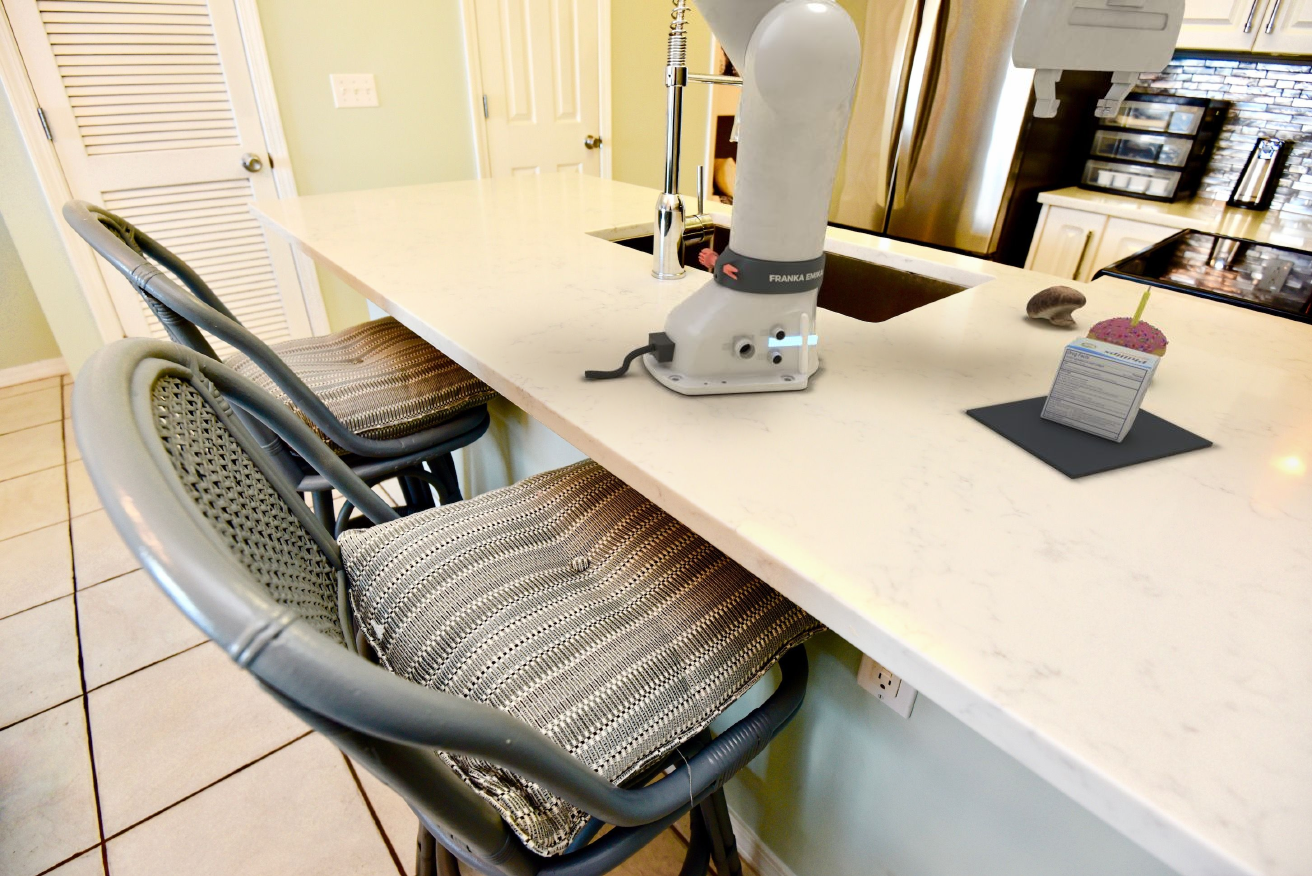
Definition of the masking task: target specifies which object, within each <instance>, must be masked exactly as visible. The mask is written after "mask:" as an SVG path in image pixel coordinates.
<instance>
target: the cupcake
mask: <svg viewBox="0 0 1312 876" xmlns="http://www.w3.org/2000/svg"><path fill="white" fill-rule="evenodd" d="M1151 288H1152V285H1149V286H1148V289H1147V290H1145V291H1144V292H1143V294H1142V296H1141V299H1140V301H1139V303H1138V306H1137V308H1136V311H1135V312H1134V315H1133V317H1131V316H1130V317H1127V316H1126V317H1125V316H1124V317H1121V316H1120V317H1119V316H1117V317H1113V318H1108V319H1105V320H1101V321H1098V322H1097V323H1095V324H1094V325H1092V326H1090V327H1089V330H1088V333H1087V335H1086V337H1085V338H1089V339H1093V340H1097V341H1101V342H1105V343H1109V344H1113V345H1117V346H1121V347H1125V348H1129V349H1133V350H1137V351H1141V352H1145V353H1148V354H1152V355H1156V356H1159V357H1160V358H1162V357H1164V356H1165V354H1166V352H1167V345H1168V346H1169V343H1170V342H1169V340H1168V339H1167V337H1166V335H1165V334H1164V333H1163V332H1162V330H1161V329H1159V328H1158V327H1155V326H1154V325H1152V324H1150V323H1148V322H1147V321H1144V320H1143V319H1141V317H1142V314H1143V312H1144V310H1145V307H1146V305H1147V303H1148V301H1149V299H1150V296H1151V293H1152V292H1151Z"/></svg>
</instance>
